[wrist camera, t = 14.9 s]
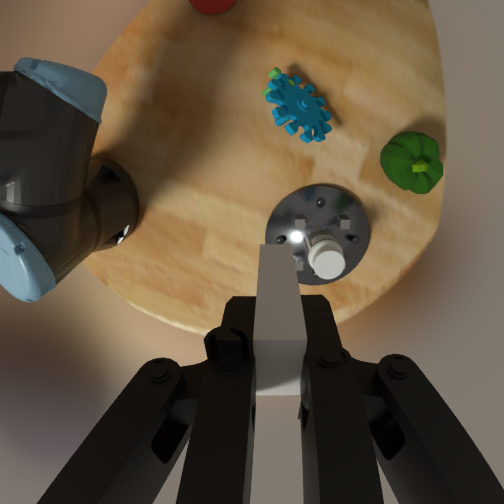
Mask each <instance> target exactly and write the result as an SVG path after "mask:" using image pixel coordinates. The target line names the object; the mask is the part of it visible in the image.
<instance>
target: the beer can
mask: <svg viewBox="0 0 504 504" xmlns="http://www.w3.org/2000/svg"><path fill="white" fill-rule="evenodd" d="M189 1H190V3H191V4H192V6H193V7H194V8H195V9H196V10H197V11H199V12H201V13H205V14H217V13H220V12H223V11H225V10H227V9H229V8H230V7H231V6H232V5H233V4H234V2H235V1H236V0H189Z"/></svg>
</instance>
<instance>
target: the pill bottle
mask: <svg viewBox="0 0 504 504" xmlns="http://www.w3.org/2000/svg"><path fill="white" fill-rule="evenodd" d="M303 243H304V247H305V251H306V254H307V258H308V261H309V264H310V266H311V267H312V268H313V269H314V271H315V273H316V274H317V275H318V276H319V277H321V278H323V279H333V278H335V277H337V276H339V275H340V274H341V273H342V271H343V269H344V267H345V260H344V257H343V250H342V247H341V246H340V244H339V243H338V241H337V239H336V237H335V236H334V234H333V233H332V231H331V230H330V229H329V228H327V227H325V226H321V225H318V226H314V227H312V228H310V229H309V230H308V231H307V232H306V234H305V236H304V240H303Z"/></svg>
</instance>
